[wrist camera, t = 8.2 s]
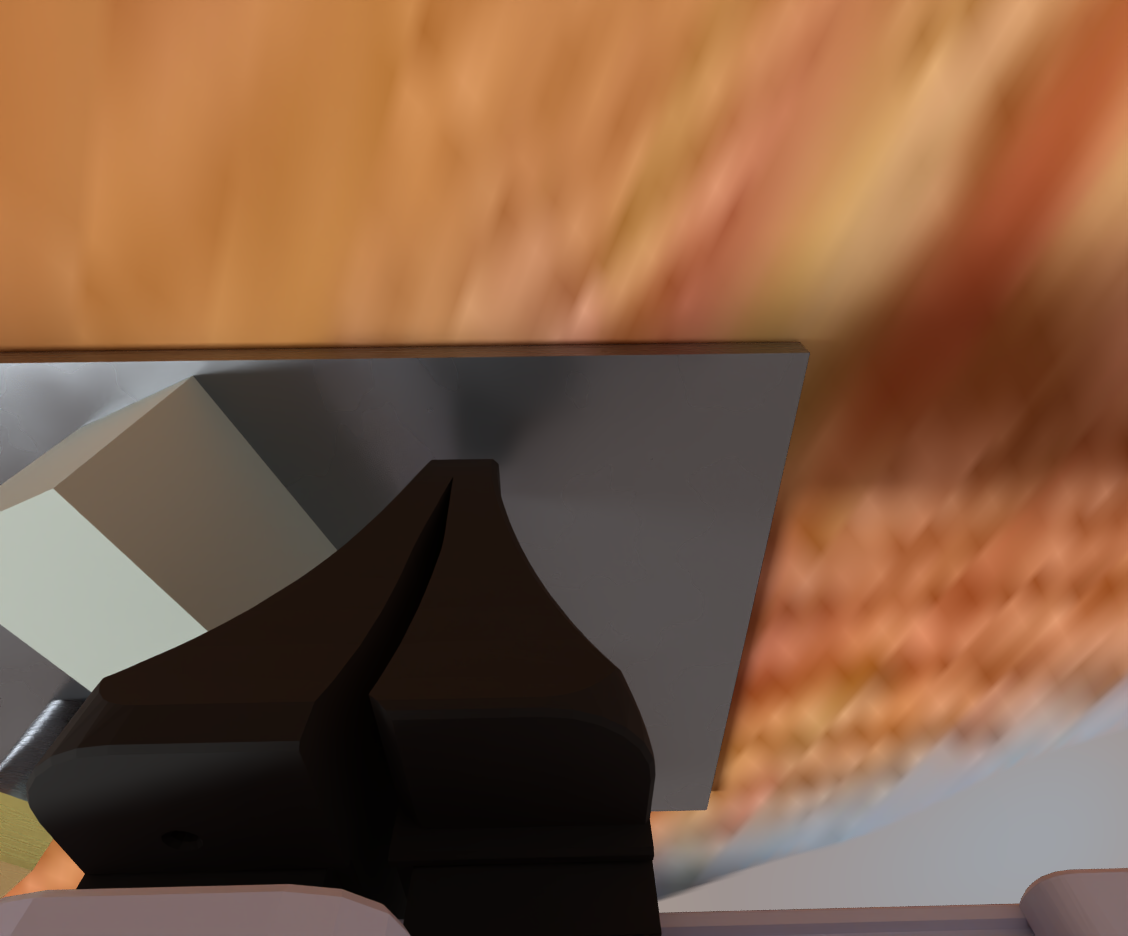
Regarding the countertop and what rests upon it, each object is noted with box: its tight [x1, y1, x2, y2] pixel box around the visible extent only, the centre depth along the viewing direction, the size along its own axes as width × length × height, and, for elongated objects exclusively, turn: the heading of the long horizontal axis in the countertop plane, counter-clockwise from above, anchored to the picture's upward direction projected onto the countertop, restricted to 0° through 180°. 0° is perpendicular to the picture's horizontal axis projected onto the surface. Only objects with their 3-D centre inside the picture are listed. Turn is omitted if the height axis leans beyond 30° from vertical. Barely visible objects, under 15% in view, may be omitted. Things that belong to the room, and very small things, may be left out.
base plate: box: [0, 342, 810, 811], centre depth 17 cm, size 17×24×1 cm
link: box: [0, 376, 337, 692], centre depth 15 cm, size 16×6×4 cm, turn 23°
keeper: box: [0, 700, 83, 899], centre depth 15 cm, size 2×6×6 cm, turn 134°
